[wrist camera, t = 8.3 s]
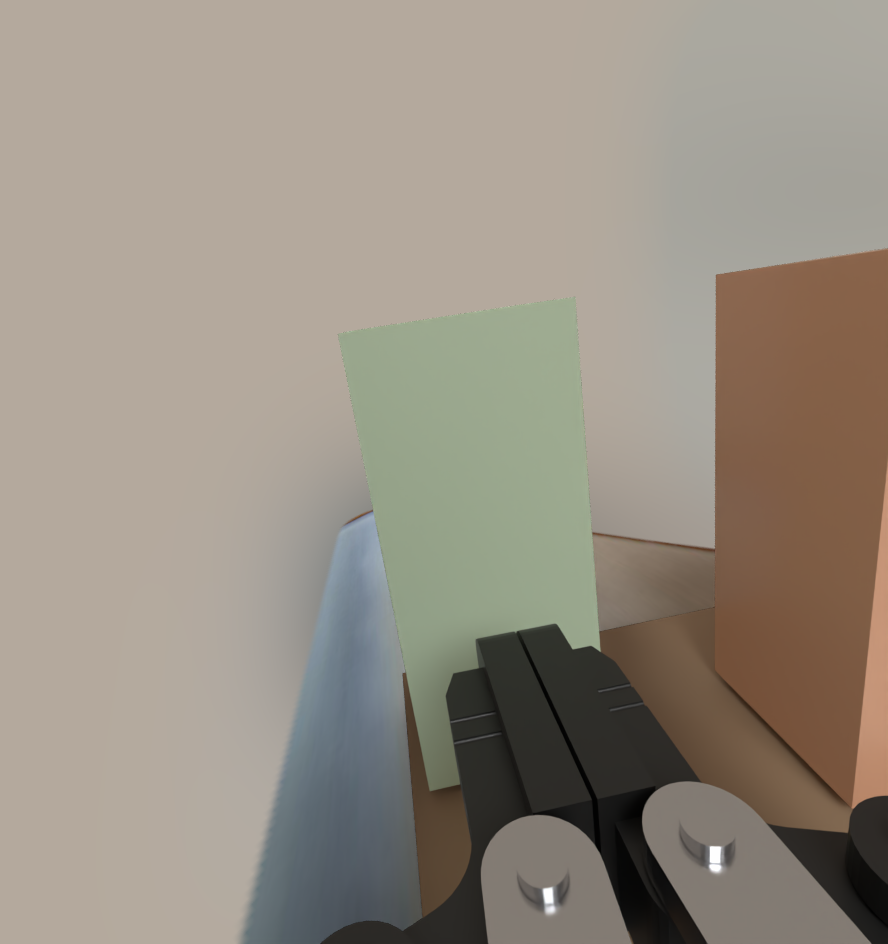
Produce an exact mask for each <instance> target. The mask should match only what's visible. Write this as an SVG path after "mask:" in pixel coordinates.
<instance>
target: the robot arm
mask: <svg viewBox="0 0 888 944" xmlns="http://www.w3.org/2000/svg"><path fill="white" fill-rule="evenodd" d="M475 642H476V652H477V659H478V666H479V668H477V669H472V670H467V671H462V672H457V673H453V676H452V678H451V681H450V684H449V687H448V690H447V693H446V702H447V708H448V714H449V721H450V727H451V733H452V739H453V745H454V751H455V757H456V763H457V769H458V774H459V780H460V785H461V790H462V796H463V801H464V807H465V812H466V817H467V823H468V829H469V834H470V840H471V855H470V860H469V864H468V866H467V869H466V872H465V874H464V876H463V878H462V880H461V882H460V884H459V885H458V887H457V888H456V889H455V891H454V892H453V893H452V895H451V896H450V897H449V898H448V899H447V900H446V901H445V902H444V903H443V904H442V905H440V906H439V907H438V908H436V909H435V910H434V911H432V912H431V913H429V914H428V915H426V916H425V917H423V918H422V919H420V920H419V921H417V922H416V923H414V924H413V925H411V926H410V927H408V928H407V929H405V930H404V931H401V930H400V929H398V928H397V927H395V926H393V925H391V924H388V923H384V922H380V921H363V922H357V923H354V924H351V925H348V926H346V927H343V928H342V929H340V930H338V931H336V932H335V933H333V934H332V935H330V936H329V937H328V938H326V939H325V940H324V941H323V942H322V943H321V944H632V943H631V940H630V937H629V934H628V931H629V933H630V936H631V938H632V941H633V943H634V944H888V796H876V797H872V798H868V799H865V800H864V801H862V802H860V803H858V804H857V805H856V807H855V808H854V809H853V810H852V813H851V815H850V820H849V829H848V833H844V832H834V831H823V830H813V829H802V828H791V827H783V826H777V825H772V824H768V823H765V822H764V820H763V819H762V818H761V817H760V816H759V815H758V814H757V813H756V812H755V811H754V810H753V809H752V808H751V807H750V806H749V805H747V804H746V803H745V802H744V801H742V800H741V799H739V798H738V797H736V796H734V795H733V794H731V793H729V792H727V791H725V790H723V789H721V788H718V787H715V786H712V785H709V784H704V783H702V782H701V781H700V779H699V778H698V777H697V775H696V774H695V772H694V771H693V770H692V768H691V767H690V765H689V764H688V763H687V761H686V760H685V758H684V757H683V756H682V754H681V753H680V751H679V750H678V749H677V747H676V746H675V744H674V743H673V742H672V740H671V739H670V737H669V736H668V735H667V733H666V732H665V730H664V729H663V728H662V726H661V725H660V723H659V722H658V721H657V719H656V718H655V716H654V715H653V714H652V712H651V711H650V709H649V708H648V707H647V706H645V705H644V702H643V700H642V698H641V697H640V695H639V694H638V693H637V691H636V690H635V688H634V687H631V684H630V681H629V680H628V679H627V677H626V676H625V674H624V673H623V672H622V670H621V669H620V667H619V666H618V665H617V663H616V662H615V661H614V660H612V659H611V658H609V657H608V656H606V655H605V654H603V653H602V652H600V651H599V650H597V649H596V648H594V647H593V646H587V647H582V648H577V649H572V647H571V646H570V644H569V643H568V641H567V639H566V638H565V636H564V634H563V633H562V631H561V629H560V628H559V626H558V625H557V624H555V623H554V624H549V625H544V626H539V627H534V628H529V629H524V630H519V631H517V632H516V633H515V632H514V631H513V632H508V633H503V634H498V635H493V636H488V637H482V638H477V639H476V641H475Z"/></svg>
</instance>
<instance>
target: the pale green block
mask: <svg viewBox="0 0 888 944" xmlns="http://www.w3.org/2000/svg"><path fill="white" fill-rule="evenodd" d="M338 337H339V342H340V347H341V352H342V357H343V362H344V367H345V372H346V377H347V382H348V387H349V392H350V397H351V402H352V407H353V412H354V417H355V422H356V427H357V432H358V437H359V442H360V446H361V451H362V457H363V461H364V467H365V471H366V476H367V482H368V487H369V491H370V497H371V501H372V506H373V511H374V516H375V521H376V526H377V531H378V536H379V541H380V546H381V551H382V556H383V561H384V566H385V571H386V576H387V581H388V586H389V591H390V596H391V601H392V606H393V611H394V616H395V621H396V626H397V631H398V636H399V641H400V646H401V651H402V656H403V661H404V666H405V671H406V676H407V681H408V686H409V691H410V696H411V700H412V705H413V710H414V715H415V720H416V725H417V730H418V735H419V740H420V745H421V750H422V755H423V760H424V765H425V770H426V775H427V780H428V785H429V790H430V791H433V790H438V789H442V788H446V787H451V786H455V785H459V784H460V780H459V774H458V769H457V763H456V757H455V751H454V745H453V739H452V733H451V727H450V721H449V714H448V708H447V702H446V693H447V690H448V687H449V684H450V681H451V678H452V676H453V673H457V672H462V671H467V670H472V669H477V668H479V666H478V659H477V652H476V642H475V641H476V639H477V638H482V637H488V636H493V635H498V634H503V633H508V632H513V631H514V632H515V633H516V632H517V631H519V630H524V629H529V628H534V627H539V626H544V625H549V624H554V623H555V624H557V625H558V626H559V628H560V629H561V631H562V633H563V634H564V636H565V638H566V639H567V641H568V643H569V644H570V646H571V647H572V649H577V648H582V647H587V646H593V647H594V648H596V649H597V650H599V651H600V652H601V650H600V636H599V622H598V608H597V594H596V580H595V566H594V552H593V538H592V525H591V511H590V497H589V483H588V469H587V454H586V441H585V426H584V412H583V398H582V384H581V371H580V357H579V342H578V329H577V314H576V300H575V297H572V298H565V299H559V300H551V301H544V302H537V303H530V304H523V305H516V306H510V307H503V308H496V309H490V310H483V311H477V312H471V313H464V314H458V315H452V316H445V317H439V318H432V319H426V320H419V321H413V322H407V323H400V324H393V325H388V326H381V327H374V328H368V329H361V330H355V331H349V332H345V333H340V334H338Z"/></svg>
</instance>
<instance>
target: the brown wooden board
mask: <svg viewBox="0 0 888 944" xmlns="http://www.w3.org/2000/svg"><path fill="white" fill-rule="evenodd" d="M599 636H600V650H601V652H602V653H603V654H605V655H606V656H608V657H609V658H611V659H612V660H614V661H615V662H616V663H617V665H618V666H619V667H620V669H621V670H622V672H623V673H624V674H625V676H626V677H627V679H628V680H629V681H630V684H631V687H634V688H635V690H636V691H637V693H638V694H639V695H640V697H641V698H642V700H643V702H644V705H645V706H647V707H648V708H649V709H650V711H651V712H652V714H653V715H654V716H655V718H656V719H657V721H658V722H659V723H660V725H661V726H662V728H663V729H664V730H665V732H666V733H667V735H668V736H669V737H670V739H671V740H672V742H673V743H674V744H675V746H676V747H677V749H678V750H679V751H680V753H681V754H682V756H683V757H684V758H685V760H686V761H687V763H688V764H689V765H690V767H691V768H692V770H693V771H694V772H695V774H696V775H697V777H698V778H699V779H700V781H701V782H702V783H704V784H709V785H712V786H715V787H718V788H721V789H723V790H725V791H727V792H729V793H731V794H733V795H734V796H736V797H738V798H739V799H741V800H742V801H744V802H745V803H746V804H747V805H749V806H750V807H751V808H752V809H753V810H754V811H755V812H756V813H757V814H758V815H759V816H760V817H761V818H762V819H763V820H764V822H765V823H768V824H772V825H777V826H783V827H791V828H802V829H813V830H823V831H834V832H844V833H848V829H849V820H850V815H851V813H852V810H853V809H854V808H851V807H850V806H849V805H848V804H847V803H846V802H845V801H844V800H843V799H842V798H841V797H840V796H839V795H838V794H837V793H836V792H835V791H834V790H833V789H832V788H831V787H830V786H829V785H828V784H827V783H826V782H825V781H824V780H823V779H822V778H821V777H820V776H819V775H818V774H817V773H816V772H815V771H814V770H813V769H812V768H811V767H810V766H809V765H808V764H807V763H806V762H805V761H804V760H803V759H802V758H801V757H800V756H799V755H798V754H797V753H796V752H795V751H794V750H793V749H792V748H791V747H790V746H789V745H788V744H787V743H786V742H785V741H784V740H783V739H782V737H781V736H780V735H779V734H778V733H777V732H776V731H775V730H774V729H773V728H772V727H771V726H770V725H769V724H768V723H767V722H766V721H765V720H764V719H763V718H762V717H761V716H760V715H759V714H758V713H757V712H756V711H755V710H754V709H753V708H752V707H751V706H750V705H749V704H748V703H747V702H746V701H745V700H744V699H743V698H742V697H741V696H740V695H739V694H738V693H737V692H736V691H735V690H734V689H733V688H732V687H731V686H730V685H729V684H728V683H727V682H726V681H725V680H724V679H723V678H722V677H721V676H720V675H719V674H718V673H717V672H716V671H715V607H713V608H708V609H704V610H699V611H694V612H689V613H685V614H680V615H675V616H671V617H666V618H661V619H656V620H652V621H647V622H642V623H638V624H633V625H628V626H623V627H619V628H614V629H609V630H604V631H600V632H599ZM403 686H404V698H405V710H406V722H407V734H408V747H409V759H410V771H411V783H412V795H413V807H414V820H415V832H416V844H417V856H418V868H419V880H420V893H421V905H422V917H425V916H426V915H428V914H429V913H431V912H432V911H434V910H435V909H436V908H438V907H439V906H440V905H442V904H443V903H444V902H445V901H446V900H447V899H448V898H449V897H450V896H451V895H452V893H453V892H454V891H455V889H456V888H457V887H458V885H459V884H460V882H461V880H462V878H463V876H464V874H465V872H466V869H467V866H468V864H469V860H470V855H471V840H470V834H469V829H468V823H467V817H466V812H465V807H464V801H463V796H462V790H461V785H460V784H459V785H455V786H451V787H446V788H442V789H438V790H433V791H430V790H429V785H428V780H427V775H426V770H425V765H424V760H423V755H422V750H421V745H420V740H419V735H418V730H417V725H416V720H415V715H414V710H413V705H412V700H411V696H410V691H409V686H408V681H407V676H406V673H403ZM628 934H629V937H630V940H631V943H632V944H634V943H633V941H632V938H631V936H630V933H629V931H628Z"/></svg>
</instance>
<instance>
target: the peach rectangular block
mask: <svg viewBox="0 0 888 944" xmlns="http://www.w3.org/2000/svg"><path fill="white" fill-rule="evenodd" d="M715 423H716V424H715V425H716V428H715V671H716V672H717V673H718V674H719V675H720V676H721V677H722V678H723V679H724V680H725V681H726V682H727V683H728V684H729V685H730V686H731V687H732V688H733V689H734V690H735V691H736V692H737V693H738V694H739V695H740V696H741V697H742V698H743V699H744V700H745V701H746V702H747V703H748V704H749V705H750V706H751V707H752V708H753V709H754V710H755V711H756V712H757V713H758V714H759V715H760V716H761V717H762V718H763V719H764V720H765V721H766V722H767V723H768V724H769V725H770V726H771V727H772V728H773V729H774V730H775V731H776V732H777V733H778V734H779V735H780V736H781V737H782V739H783V740H784V741H785V742H786V743H787V744H788V745H789V746H790V747H791V748H792V749H793V750H794V751H795V752H796V753H797V754H798V755H799V756H800V757H801V758H802V759H803V760H804V761H805V762H806V763H807V764H808V765H809V766H810V767H811V768H812V769H813V770H814V771H815V772H816V773H817V774H818V775H819V776H820V777H821V778H822V779H823V780H824V781H825V782H826V783H827V784H828V785H829V786H830V787H831V788H832V789H833V790H834V791H835V792H836V793H837V794H838V795H839V796H840V797H841V798H842V799H843V800H844V801H845V802H846V803H847V804H848V805H849V806H850V807H851V808H855V807H856V805H857V804H858V803H860V802H862V801H864V800H865V799H868V798H872V797H876V796H888V248H885V249H878V250H872V251H865V252H859V253H853V254H846V255H839V256H833V257H827V258H820V259H814V260H807V261H801V262H794V263H788V264H782V265H775V266H769V267H763V268H756V269H749V270H743V271H737V272H730V273H724V274H717V275H716V419H715Z"/></svg>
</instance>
